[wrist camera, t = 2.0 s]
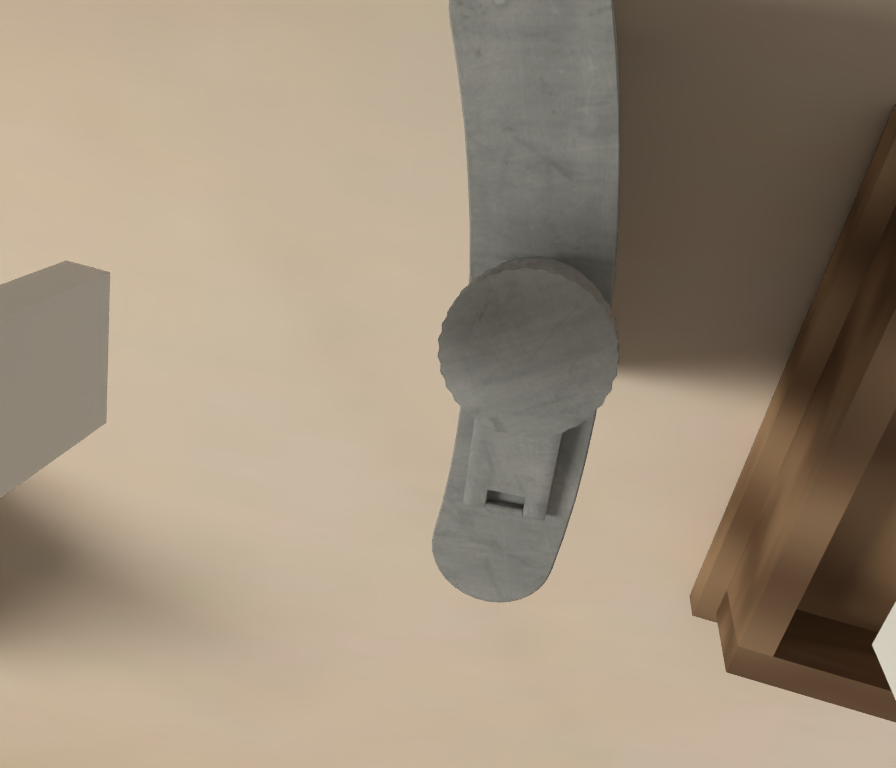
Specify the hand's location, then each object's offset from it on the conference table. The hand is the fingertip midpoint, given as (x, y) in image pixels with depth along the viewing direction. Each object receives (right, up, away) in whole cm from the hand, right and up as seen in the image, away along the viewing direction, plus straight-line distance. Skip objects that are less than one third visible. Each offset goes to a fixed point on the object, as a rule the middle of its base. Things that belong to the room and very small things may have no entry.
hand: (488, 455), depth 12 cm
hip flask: (+5, +9, +22) cm, 24 cm away
